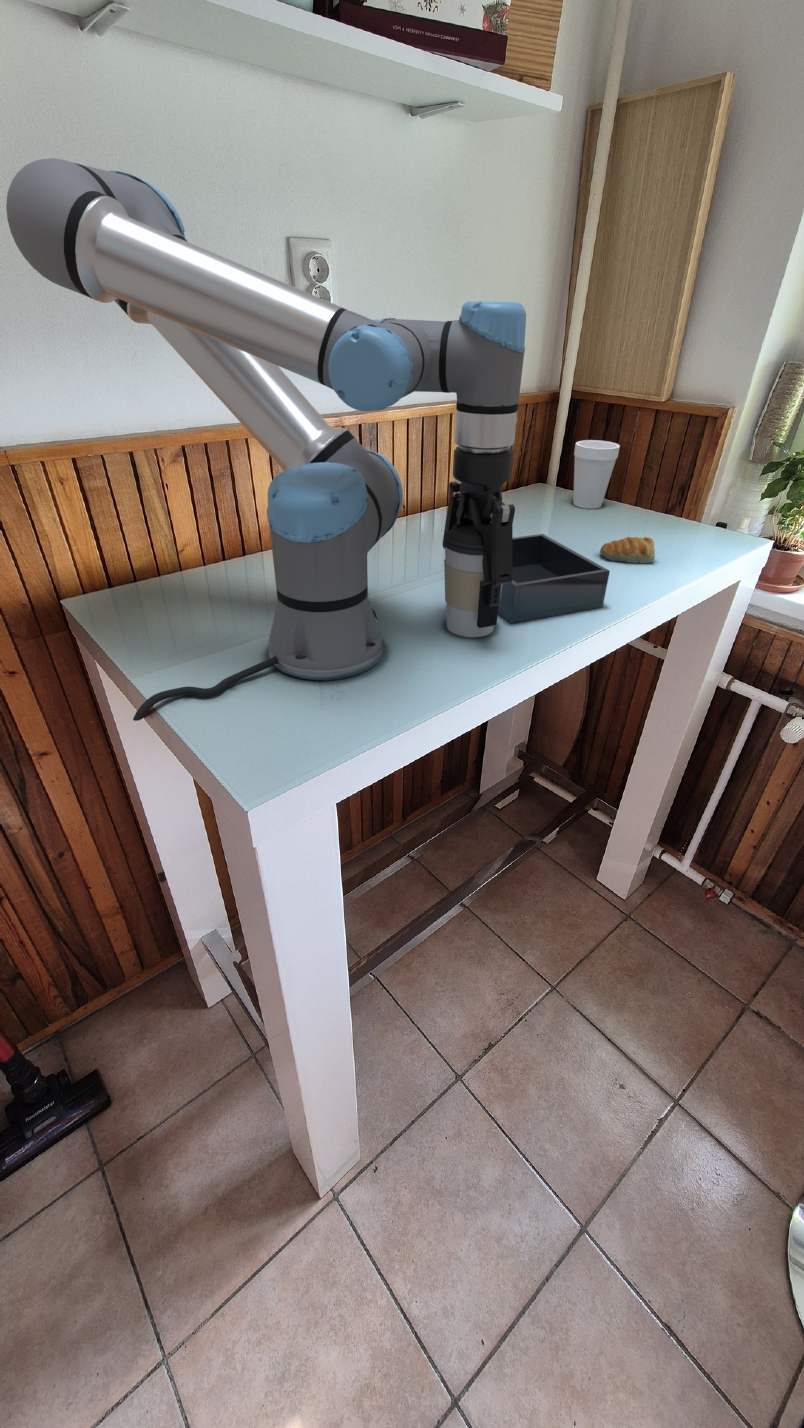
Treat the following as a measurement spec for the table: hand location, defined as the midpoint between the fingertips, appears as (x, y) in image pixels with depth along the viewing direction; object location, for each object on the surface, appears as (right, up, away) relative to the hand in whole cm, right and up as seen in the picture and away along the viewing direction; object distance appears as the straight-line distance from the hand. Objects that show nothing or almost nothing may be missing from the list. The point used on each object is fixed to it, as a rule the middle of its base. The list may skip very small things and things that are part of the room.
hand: (471, 612), depth 93 cm
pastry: (+32, +14, +26) cm, 44 cm away
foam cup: (+33, +33, +55) cm, 72 cm away
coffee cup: (0, -2, +1) cm, 3 cm away
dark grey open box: (+10, +5, +12) cm, 17 cm away
